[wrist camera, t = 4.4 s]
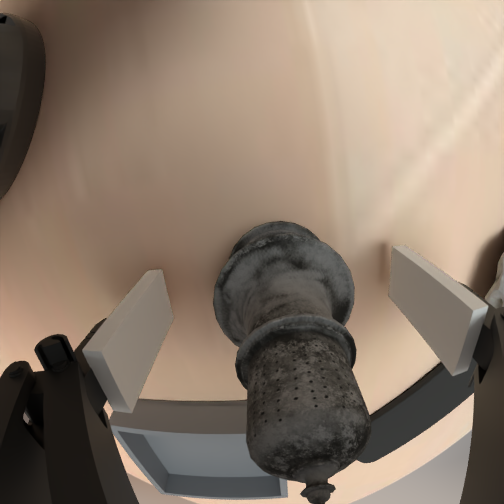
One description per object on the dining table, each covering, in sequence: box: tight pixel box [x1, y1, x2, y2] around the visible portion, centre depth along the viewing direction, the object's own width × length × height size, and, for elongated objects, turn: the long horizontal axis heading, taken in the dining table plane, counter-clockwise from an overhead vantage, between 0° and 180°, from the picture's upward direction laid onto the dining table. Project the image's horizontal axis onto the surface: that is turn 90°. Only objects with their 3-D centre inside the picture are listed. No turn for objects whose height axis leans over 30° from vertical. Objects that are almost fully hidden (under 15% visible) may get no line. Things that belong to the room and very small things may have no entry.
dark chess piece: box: [213, 221, 372, 504], centre depth 9 cm, size 6×6×12 cm
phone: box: [356, 357, 477, 463], centre depth 19 cm, size 7×1×15 cm
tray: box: [109, 399, 288, 500], centre depth 19 cm, size 12×12×3 cm
